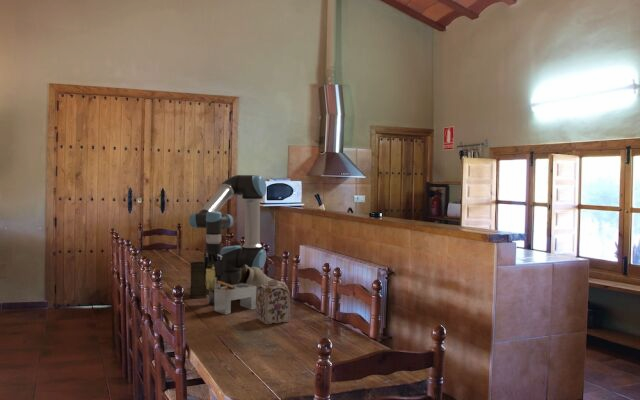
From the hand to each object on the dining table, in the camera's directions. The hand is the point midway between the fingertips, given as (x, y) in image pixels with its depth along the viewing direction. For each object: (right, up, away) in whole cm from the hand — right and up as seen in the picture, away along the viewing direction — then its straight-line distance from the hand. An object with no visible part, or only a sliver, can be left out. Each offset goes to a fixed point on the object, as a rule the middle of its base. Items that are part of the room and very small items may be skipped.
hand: (213, 288), depth 276 cm
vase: (+24, -8, +12) cm, 28 cm away
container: (-11, -7, +17) cm, 22 cm away
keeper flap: (+9, +4, -14) cm, 17 cm away
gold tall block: (0, -8, 0) cm, 8 cm away
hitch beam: (+13, -9, -10) cm, 18 cm away
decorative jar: (+32, -10, -28) cm, 44 cm away
